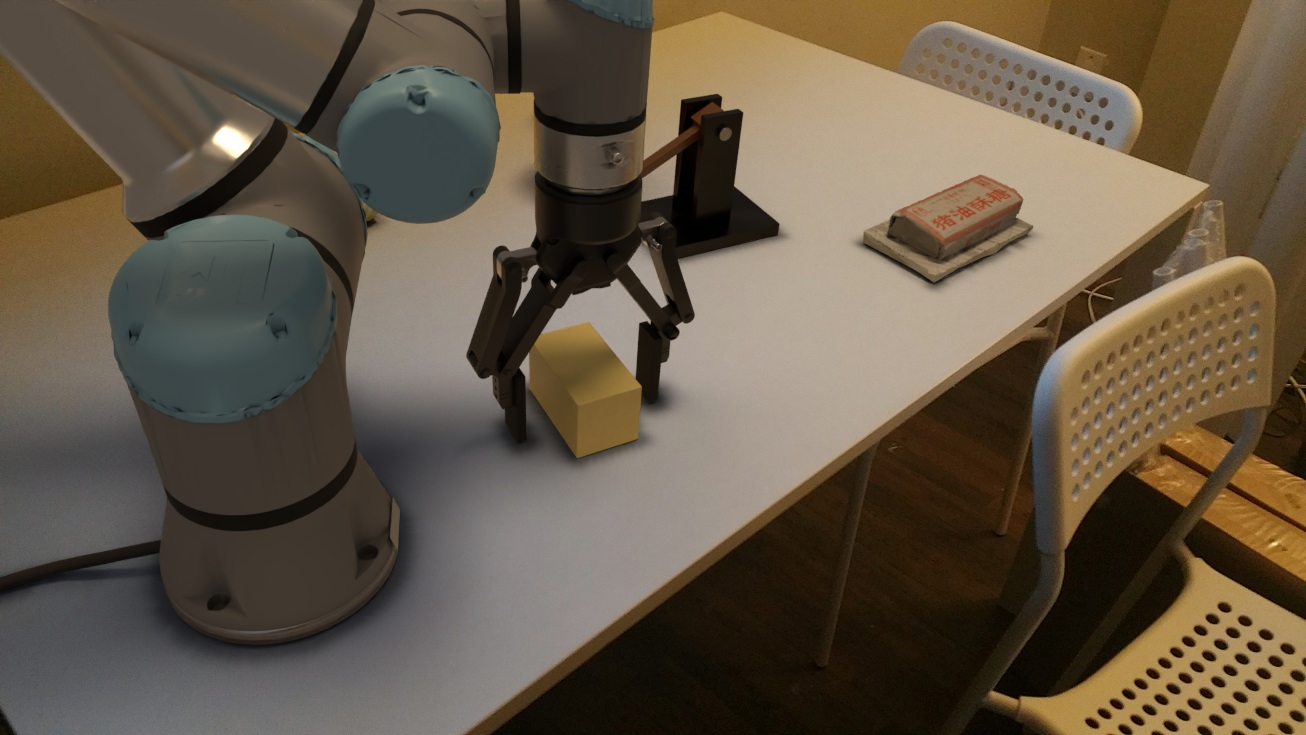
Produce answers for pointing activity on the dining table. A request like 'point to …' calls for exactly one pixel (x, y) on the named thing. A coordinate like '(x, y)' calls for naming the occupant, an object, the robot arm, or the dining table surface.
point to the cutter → (710, 186)
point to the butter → (584, 389)
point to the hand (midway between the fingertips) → (583, 411)
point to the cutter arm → (678, 142)
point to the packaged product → (951, 227)
